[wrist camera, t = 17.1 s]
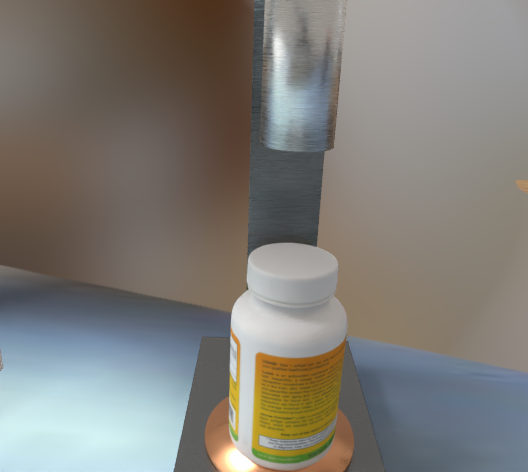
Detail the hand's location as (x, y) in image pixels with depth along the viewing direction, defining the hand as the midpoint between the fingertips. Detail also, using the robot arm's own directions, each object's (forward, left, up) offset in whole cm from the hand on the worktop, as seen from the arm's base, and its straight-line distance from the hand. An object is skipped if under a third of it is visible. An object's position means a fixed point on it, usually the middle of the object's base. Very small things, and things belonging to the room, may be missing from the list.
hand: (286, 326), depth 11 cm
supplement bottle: (-9, +4, -13) cm, 16 cm away
